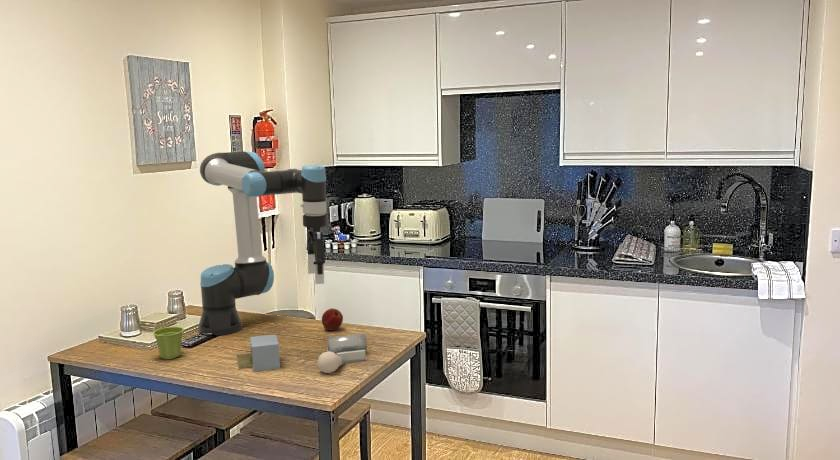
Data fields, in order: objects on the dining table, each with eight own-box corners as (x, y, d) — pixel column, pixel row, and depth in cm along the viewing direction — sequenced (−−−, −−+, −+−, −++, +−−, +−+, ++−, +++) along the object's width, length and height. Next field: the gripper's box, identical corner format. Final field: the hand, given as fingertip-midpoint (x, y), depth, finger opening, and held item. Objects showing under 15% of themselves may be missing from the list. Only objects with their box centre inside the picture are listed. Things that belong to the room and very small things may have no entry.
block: (251, 360, 208) (250, 337, 207) (276, 357, 211) (275, 334, 209) (253, 371, 199) (251, 347, 198) (280, 368, 201) (278, 344, 200)
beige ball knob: (337, 347, 206) (316, 348, 196) (353, 354, 202) (334, 356, 193) (331, 367, 206) (310, 369, 196) (347, 374, 203) (327, 377, 193)
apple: (330, 334, 233) (330, 312, 232) (317, 329, 239) (316, 308, 237) (346, 329, 239) (346, 308, 237) (333, 325, 244) (332, 304, 243)
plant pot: (155, 353, 216) (153, 328, 215) (185, 349, 219) (184, 325, 218) (154, 363, 207) (152, 336, 206) (185, 359, 210) (183, 333, 209)
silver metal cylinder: (329, 358, 209) (330, 346, 206) (326, 346, 214) (327, 333, 211) (366, 354, 213) (367, 341, 210) (362, 342, 217) (363, 329, 214)
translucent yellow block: (237, 365, 204) (236, 354, 204) (263, 361, 207) (262, 351, 207) (239, 369, 201) (238, 358, 201) (265, 365, 204) (264, 354, 204)
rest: (329, 349, 218) (329, 339, 217) (356, 346, 220) (355, 337, 220) (337, 363, 204) (337, 354, 204) (365, 360, 207) (365, 350, 206)
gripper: (297, 208, 219) (298, 270, 223) (309, 221, 195) (310, 289, 199) (319, 207, 221) (320, 268, 225) (334, 219, 198) (335, 287, 202)
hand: (315, 278), depth 212 cm, fingers open, 13 cm apart
